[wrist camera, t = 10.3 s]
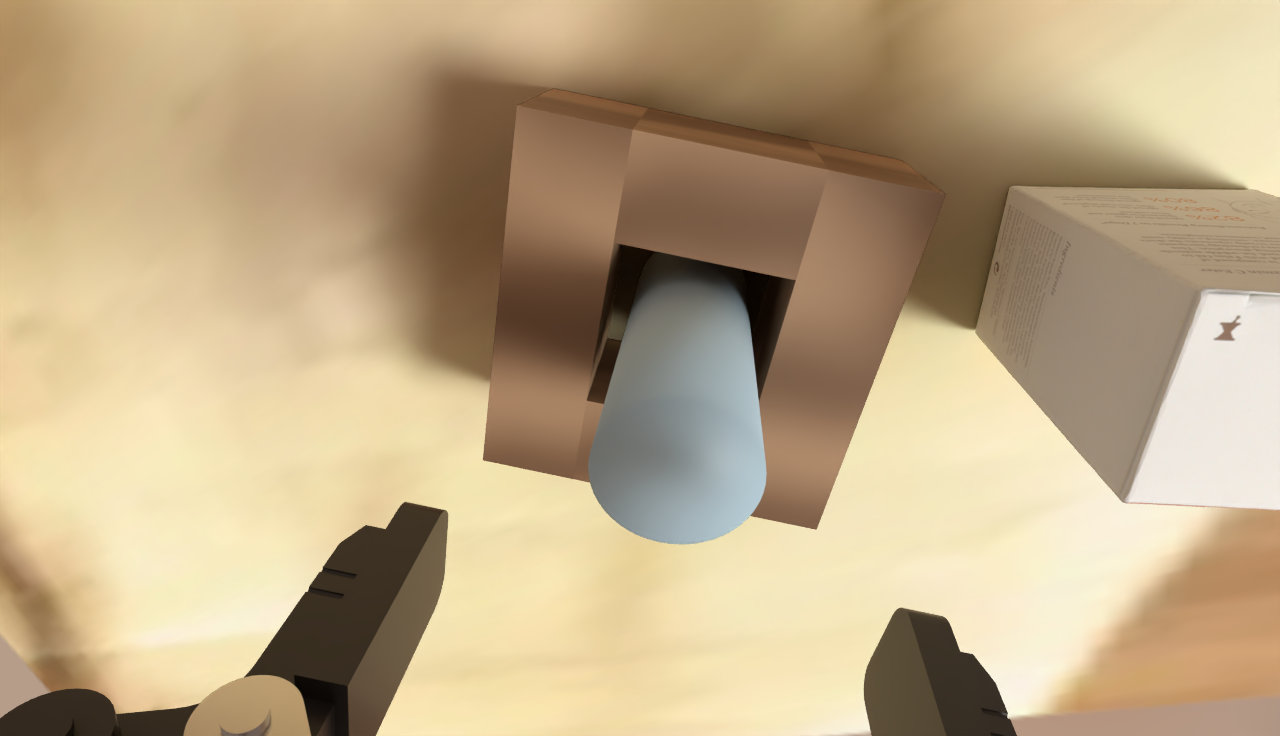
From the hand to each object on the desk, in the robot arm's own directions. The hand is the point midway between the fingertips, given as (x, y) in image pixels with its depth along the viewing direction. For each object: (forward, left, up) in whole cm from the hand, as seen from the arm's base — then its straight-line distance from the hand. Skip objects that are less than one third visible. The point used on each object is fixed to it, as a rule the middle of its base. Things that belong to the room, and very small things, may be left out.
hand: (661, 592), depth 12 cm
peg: (0, 0, -16) cm, 16 cm away
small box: (-4, +14, -16) cm, 22 cm away
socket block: (0, 0, -16) cm, 16 cm away
